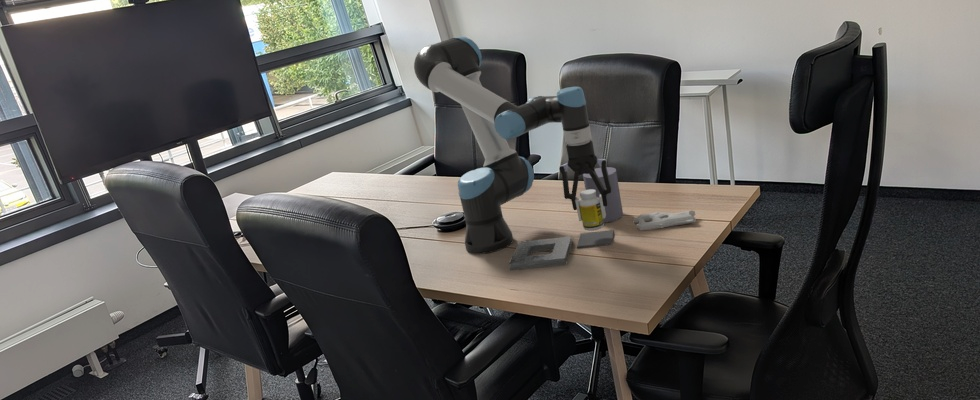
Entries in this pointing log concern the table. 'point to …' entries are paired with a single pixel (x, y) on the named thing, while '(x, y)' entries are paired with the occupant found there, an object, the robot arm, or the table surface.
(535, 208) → the table surface
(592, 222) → the pill bottle
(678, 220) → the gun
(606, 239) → the rubber mat
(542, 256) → the housing plate
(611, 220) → the container
